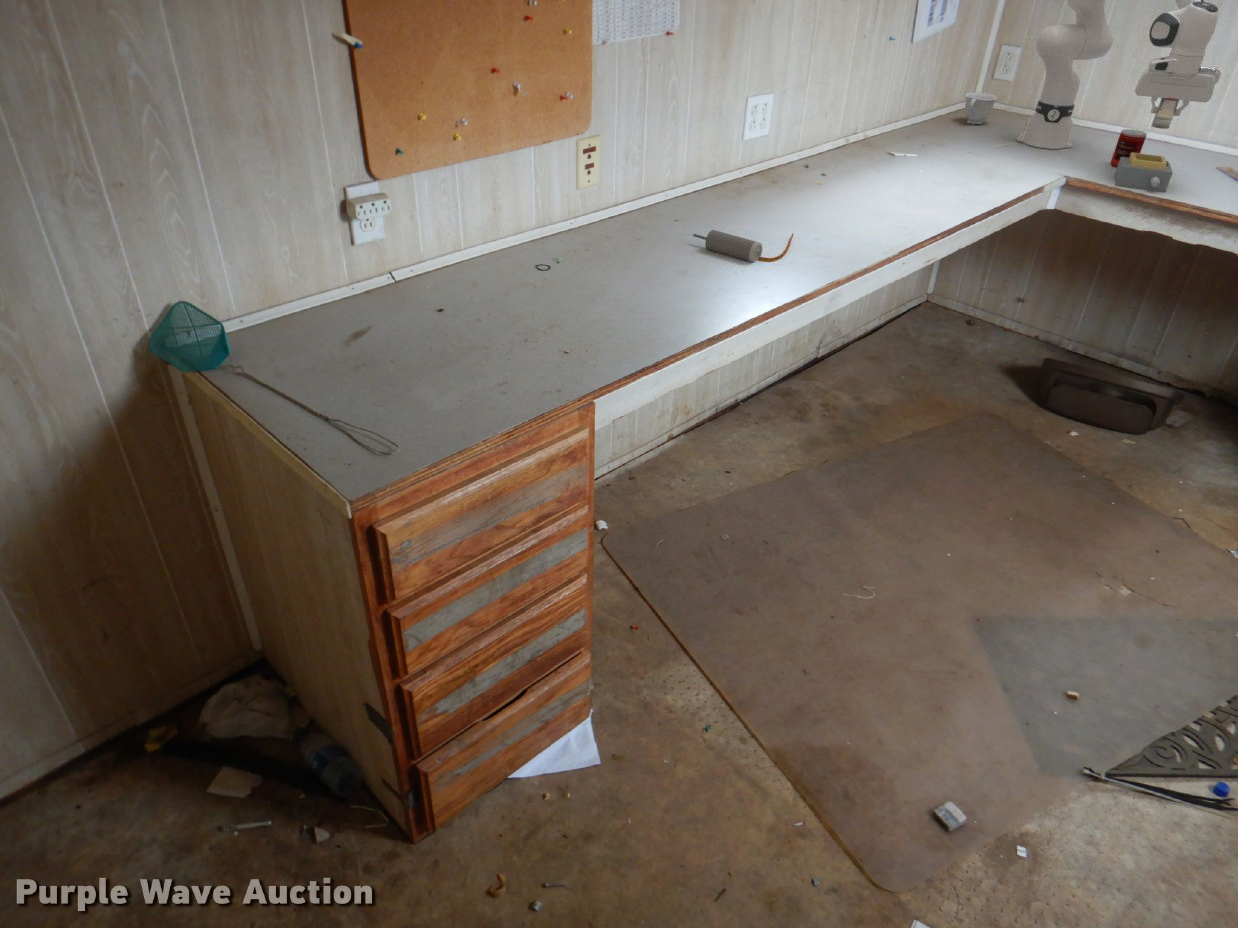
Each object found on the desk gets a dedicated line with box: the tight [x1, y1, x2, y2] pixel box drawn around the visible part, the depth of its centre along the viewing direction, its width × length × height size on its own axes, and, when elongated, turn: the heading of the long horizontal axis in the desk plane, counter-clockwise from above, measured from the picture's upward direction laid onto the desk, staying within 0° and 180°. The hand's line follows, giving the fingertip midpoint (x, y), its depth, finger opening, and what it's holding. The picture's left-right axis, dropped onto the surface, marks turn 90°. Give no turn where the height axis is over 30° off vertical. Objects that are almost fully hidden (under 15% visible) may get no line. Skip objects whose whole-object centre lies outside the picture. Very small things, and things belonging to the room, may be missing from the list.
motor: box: [692, 229, 794, 263], centre depth 219 cm, size 23×22×5 cm
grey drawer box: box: [1113, 152, 1174, 193], centre depth 269 cm, size 15×14×8 cm
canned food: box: [1110, 128, 1147, 169], centre depth 286 cm, size 8×8×11 cm
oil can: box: [1151, 98, 1180, 130], centre depth 260 cm, size 5×5×8 cm
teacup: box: [964, 92, 999, 125], centre depth 329 cm, size 12×15×10 cm
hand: (1164, 114), depth 260 cm, fingers closed on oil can, 5 cm apart
